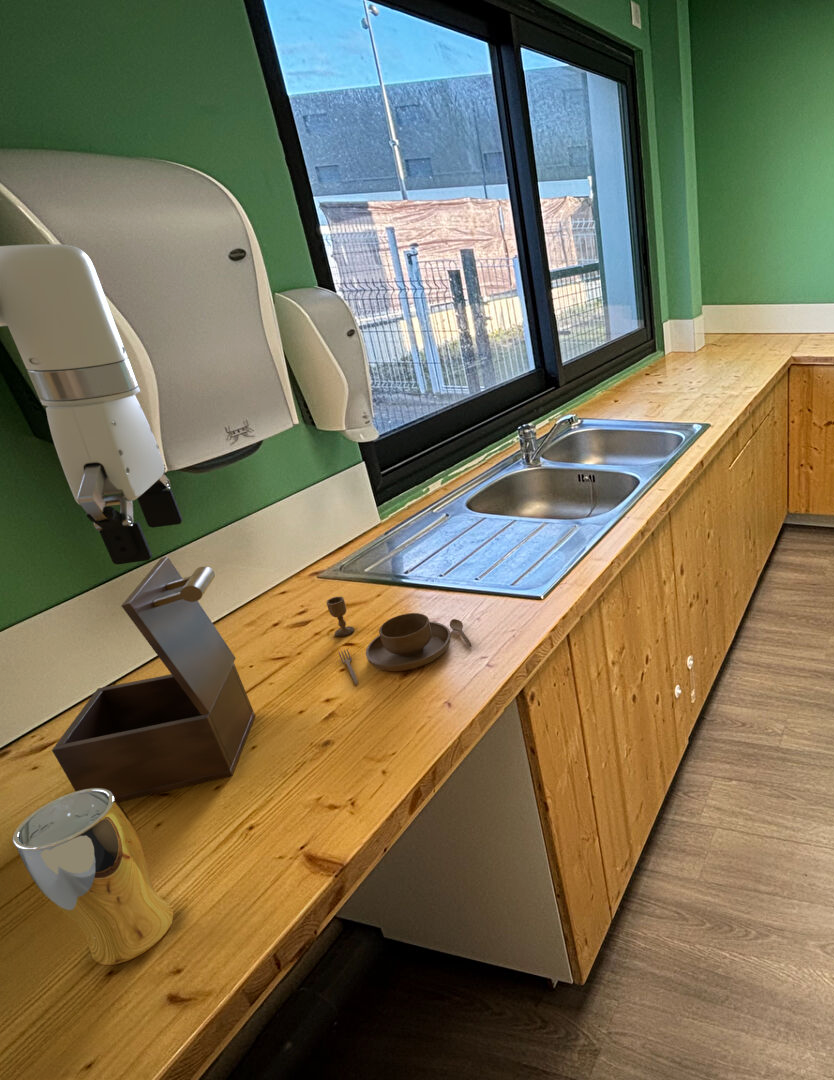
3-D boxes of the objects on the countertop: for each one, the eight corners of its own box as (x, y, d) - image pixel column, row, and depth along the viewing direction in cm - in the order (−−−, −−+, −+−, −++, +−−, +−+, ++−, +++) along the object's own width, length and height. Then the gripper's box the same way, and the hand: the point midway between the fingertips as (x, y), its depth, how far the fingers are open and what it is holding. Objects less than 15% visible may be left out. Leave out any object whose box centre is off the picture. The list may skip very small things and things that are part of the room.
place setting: (355, 694, 97) (344, 659, 94) (329, 632, 112) (319, 600, 109) (479, 649, 106) (472, 616, 103) (440, 597, 121) (433, 567, 118)
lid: (120, 605, 72) (179, 587, 73) (160, 558, 82) (211, 543, 83) (201, 715, 79) (254, 697, 80) (229, 660, 89) (275, 644, 90)
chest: (85, 810, 79) (51, 750, 75) (126, 743, 89) (97, 688, 85) (232, 775, 83) (206, 717, 80) (255, 716, 93) (233, 661, 90)
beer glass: (86, 930, 66) (11, 814, 59) (175, 887, 70) (115, 773, 63) (86, 987, 61) (5, 866, 54) (183, 937, 65) (118, 819, 58)
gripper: (79, 369, 74) (139, 517, 81) (-12, 407, 59) (71, 584, 66) (163, 363, 76) (214, 508, 83) (95, 398, 61) (164, 571, 69)
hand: (151, 542), depth 75 cm, fingers open, 9 cm apart
